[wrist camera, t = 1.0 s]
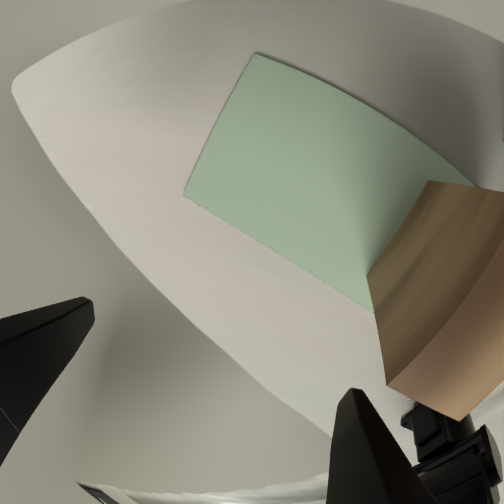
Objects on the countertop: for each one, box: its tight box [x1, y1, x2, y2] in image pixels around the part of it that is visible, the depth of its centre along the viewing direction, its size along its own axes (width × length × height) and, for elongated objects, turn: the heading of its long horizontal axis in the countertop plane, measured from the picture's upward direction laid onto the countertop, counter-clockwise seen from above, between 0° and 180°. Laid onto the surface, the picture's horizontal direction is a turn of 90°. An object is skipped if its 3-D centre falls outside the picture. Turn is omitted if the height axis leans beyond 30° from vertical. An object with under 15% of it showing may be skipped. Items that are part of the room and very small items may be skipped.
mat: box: [183, 54, 476, 314], centre depth 17 cm, size 22×12×1 cm, turn 62°
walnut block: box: [366, 180, 504, 421], centre depth 12 cm, size 5×8×11 cm, turn 152°
